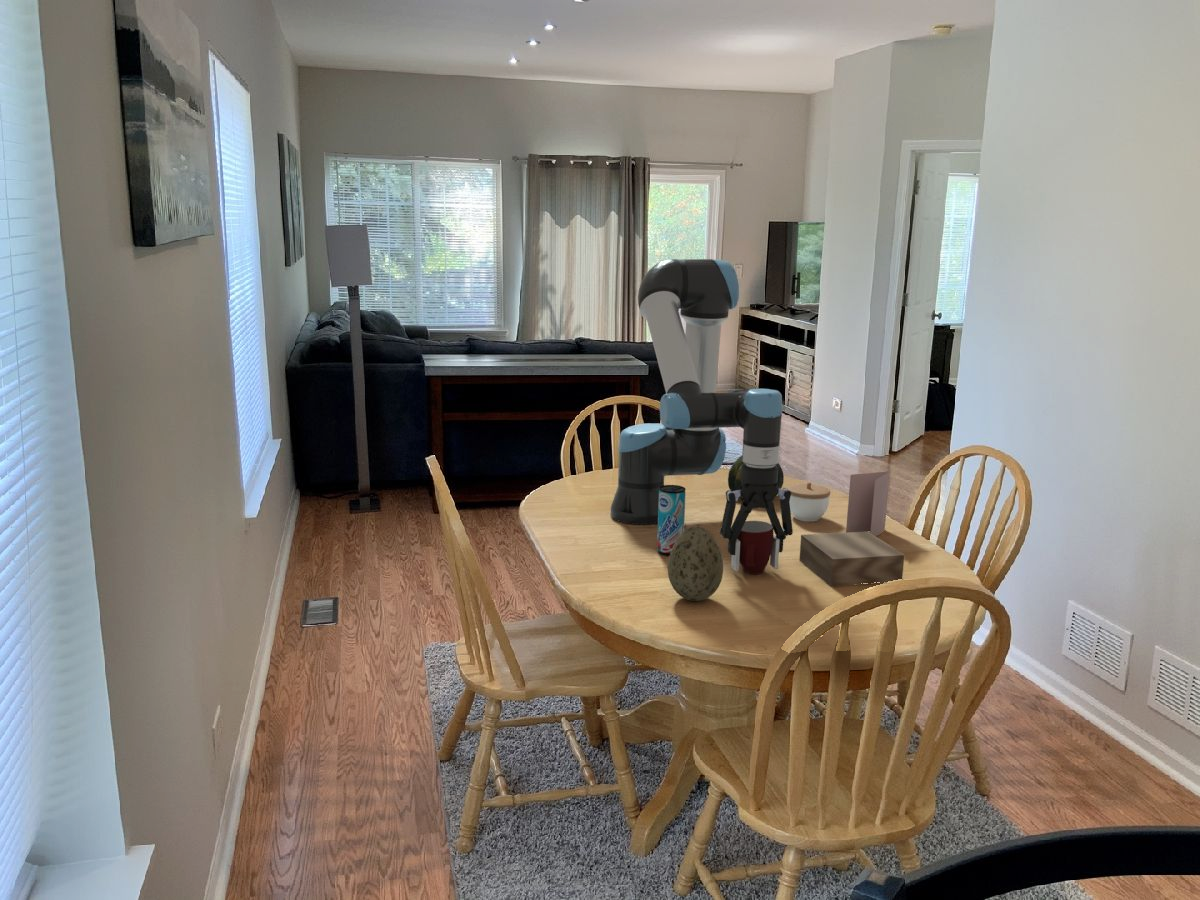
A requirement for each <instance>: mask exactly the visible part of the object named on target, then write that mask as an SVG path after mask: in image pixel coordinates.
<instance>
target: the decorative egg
mask: <svg viewBox="0 0 1200 900" xmlns="http://www.w3.org/2000/svg"><path fill="white" fill-rule="evenodd" d="M723 561H724V560H723V556H722V552H721V550H720V548H719V545H718V543H717V541H716V539H715V538H714V537H713V535H712V534H711V532H709V531H708V530H707V529H706V528H704V527H703V526H700V525H693V526H689V528H687V529H684V532H683V533H682V534H681V535H680V536H679V538H678V539H677V540H676V542H675V544H674V546H673V548H672V550H671V553H670V555H668V560H667V575H668V581H669V582H670V585H671V588H672V589H673V590H674V591H675V592H676V594H677V595H679V596H680V597H681V598H683V599H684V600H686V601H687V600H688V601H691V602H700V601H704V600H706V599H708V598H710V597H711V596H712V595H713V594H715V592H717V590H718V588H719V587H720V584H721V583H722V579H723V575H724V562H723Z"/></svg>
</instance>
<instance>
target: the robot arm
mask: <svg viewBox="0 0 1200 900" xmlns="http://www.w3.org/2000/svg"><path fill="white" fill-rule="evenodd" d="M739 286H740V283H739V280H738V275H737V273H736V270H735V268H734V266H733V265H732V264H731V262H729V261H727V260H724V259H723V260H722V259H714V258H697V259H696V258H686V259H679V258H669V259H668V258H667V259H665V260H662V261H659V262H657V263H656V264H655V265H653V266H652V267H651V268H650V269H649V270H647V273H646V274H645V275H644V276H643V278H642V280H641V282H640V285H639V288H638V291H637V292H638V293H637V302H638V303H637V305H638V309H639V313H640V315H641V316H642V317H643V319H644V320H646V322H647V327H648V331H649V333H650V337H651V340H652V346H653V348H654V349H653V350H654V352H655V356H656V359H657V363H658V368H659V371H660V375H661V379H662V383H663V387H664V391H665V394H663V395H662V396H661V398H660V402H659V417H660V422H661V423H655V422H654V423H649V422H648V423H639V424H635V425H631V426H628V427H626V428H625V429H623V430H621V432H620V435H619V441H618V447H617V449H618V475H617V477H618V479H617V480H618V482H617V488H616V491H615V493H614V495H613V496H614V497H613V499H612V501H611V502H612V503H611V506H610V517H611V516H612V517H613V518H614V520H615V519H616V520H615V521H618V520H619V521H618V522H620V523H625V522H626V524H630V525H631V524H632V523H634V524H633V525H652V524H653V525H654V524H658V504H659V487H661V486H664V485H665V476H666V477H667V476H668V477H669V476H670V477H671V476H689V475H690V476H693V475H697V476H703V475H707V474H708V475H709V474H715V473H716V472H717V471H718V470H720V468H721V467H722V465H723V463H724V460H725V457H726V451H727V443H726V440H727V438H726V434H725V432H724V430H723V428H741V429H743V433H742V434H743V437H742V438H743V439H742V452H741V454H742V455H741V456H742V461H743V462H744V464H743V465H742V471H741V486H740V488H739V490H736V491H730V489H729V490H726V491H725V497H726V498H725V499H726V503H725V508H724V512H723V516H722V521H721V526H720V530H719V534H720V536H722V538H723V539H724V540H725V539H726V540H728V541H727V552H728V554H729V555H730V556H731V560H730V561H731V562H730V564H731V565H730V567H731V569H733V570H734V571H735V572H739V571H740V561H739V557H740V541H739V540H738V539H737V538H738V536H739V534H740V532H741V530H742V527H743V525H744V523H745V521H747V518H748V517H749V515H750V514H751V513H752V511H753V509H758V508H761V509H765V511H766V513H767V516H768V519H769V523H770V524H771V525H772V526H773V533H774V534H775V535H773V543H772V548H771V553H770V558H769V565H770V566H771V567H772V568H773V569H774V570H775V569H779V555H780V553H782V552H783V550H784V540H786V539H787V536H792V535H793V534H794V530H793V521H792V513H791V512H790V503H789V501H790V497H791V492H790V491H789V490H787V488H785V487H782V488H781V489H778V487H777V481H778V467H777V465H776V464H778V463H780V462H779V459H780V448H781V447H780V445H781V444H780V440H781V430H782V429H781V428H782V427H781V426H782V417H783V415H782V414H783V409H784V408H783V395H782V393H781V392H780V391H779V390H777V389H770V388H751V389H749V390H746V389H741V388H740V389H738V388H735V389H732V390H730V391H728V392H727V391H726V392H724V391H723V392H717V383H718V382H717V381H718V370H719V369H718V368H719V357H720V344H721V343H720V342H721V331H722V324H723V323H725V321H726V320H728V318H729V311H730V310H733V309H734V308H736V307H737V305H738V302H739V298H740V287H739ZM679 311H680V312H679ZM681 318H683V320H684V321H685V330H684V326H683V323H682V319H681ZM721 428H722V429H721ZM739 496H741V497H742V498H741V497H740V498H741V499H742V501H741V503H740V508H739V509H738V510H739V511H738V513H737V515H736V517H735V518H734V515H735V512H736V507H737V502H738V500H739ZM776 497H778V498H779V506H780V513H781V514H780V516H781V522H780V519H779V517H778V514H777V512H776V507H775V505H774V502H773V501H774V500H775V498H776ZM612 517H611V518H612ZM613 518H612V519H613Z"/></svg>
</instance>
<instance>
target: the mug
mask: <svg viewBox="0 0 1200 900" xmlns="http://www.w3.org/2000/svg"><path fill="white" fill-rule="evenodd" d="M773 536H774V529H773V526H772V524H771V523H770V522H766V521H760V520H746V521H745V523H744V525H743V527H742V530H741V532H740V534H739V536H738V538H737V539H738V540H739V541H740V557H739V564H740V565H741V567H742V569H743V571H744V572H746V573H747V574H750V575H758V574H762V573H764V570H765V569H766V567H767V565H768V564H769V563H770V553H771V548H772V543H773Z"/></svg>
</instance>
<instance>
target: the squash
mask: <svg viewBox="0 0 1200 900" xmlns="http://www.w3.org/2000/svg"><path fill="white" fill-rule="evenodd" d="M743 464H744V462H743V461H742V455H741V456H739V457H738V458H737V459H736V460H734V462H733V463H732V465H731V466H730V469H729V470H728V477H727V484H728V489H729V490H730V491H736V490H739V488H740V486H741V471H742V465H743ZM776 465H777V467H778V481H777V487H778V489H783V486H784V480H785V479H784V471H783V468H782V467H781V465H780V462H778V464H776ZM739 497H740V498H741V499H742V497H741V496H739ZM739 497H738V498H739Z"/></svg>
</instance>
